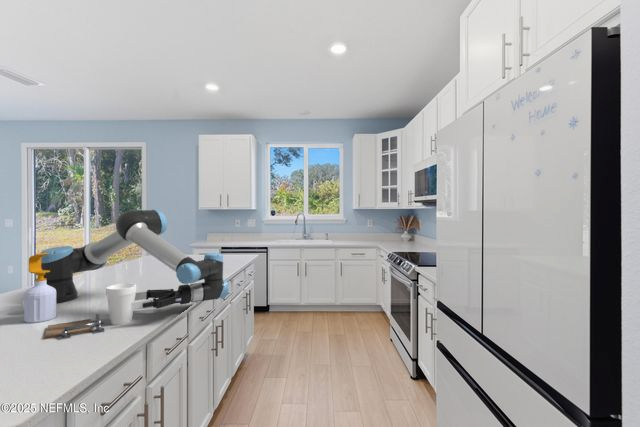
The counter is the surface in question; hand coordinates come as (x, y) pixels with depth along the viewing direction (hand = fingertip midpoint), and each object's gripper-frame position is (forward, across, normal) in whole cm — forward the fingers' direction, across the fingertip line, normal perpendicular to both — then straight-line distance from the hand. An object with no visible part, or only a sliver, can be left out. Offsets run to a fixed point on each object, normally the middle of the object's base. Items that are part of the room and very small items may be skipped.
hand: (129, 301), depth 118 cm
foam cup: (+2, +1, -7) cm, 8 cm away
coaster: (+17, +2, -7) cm, 19 cm away
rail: (+14, -1, -7) cm, 16 cm away
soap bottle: (+26, +21, -7) cm, 34 cm away
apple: (+29, +33, -7) cm, 45 cm away
